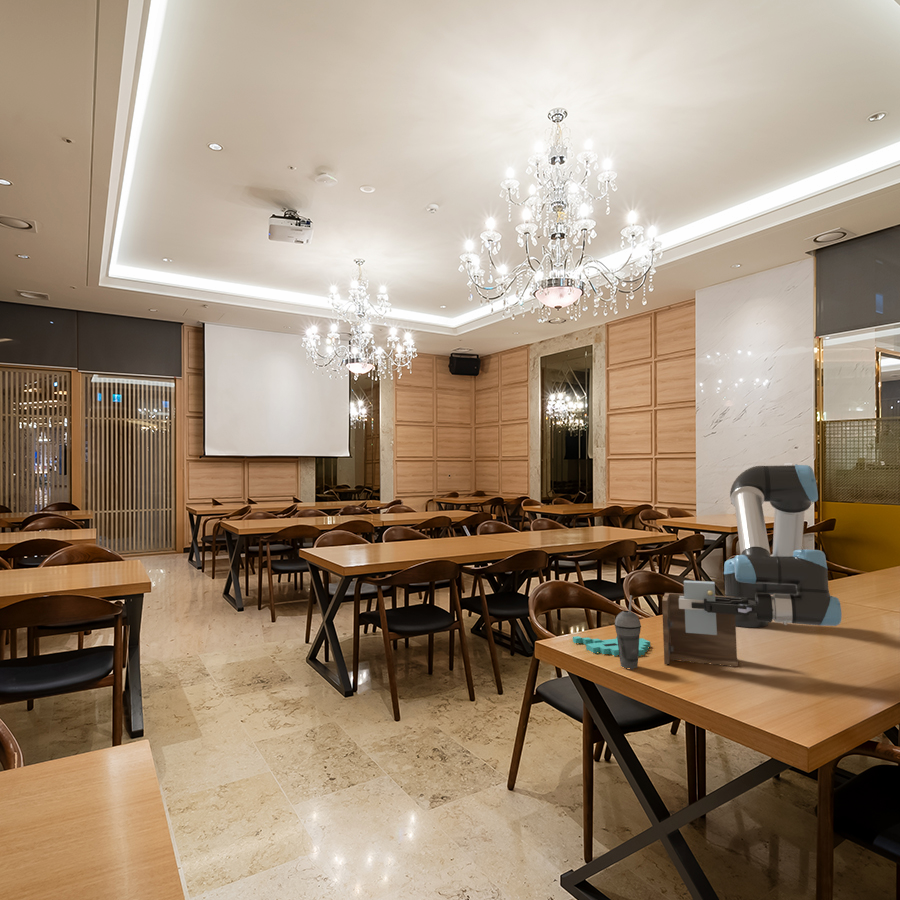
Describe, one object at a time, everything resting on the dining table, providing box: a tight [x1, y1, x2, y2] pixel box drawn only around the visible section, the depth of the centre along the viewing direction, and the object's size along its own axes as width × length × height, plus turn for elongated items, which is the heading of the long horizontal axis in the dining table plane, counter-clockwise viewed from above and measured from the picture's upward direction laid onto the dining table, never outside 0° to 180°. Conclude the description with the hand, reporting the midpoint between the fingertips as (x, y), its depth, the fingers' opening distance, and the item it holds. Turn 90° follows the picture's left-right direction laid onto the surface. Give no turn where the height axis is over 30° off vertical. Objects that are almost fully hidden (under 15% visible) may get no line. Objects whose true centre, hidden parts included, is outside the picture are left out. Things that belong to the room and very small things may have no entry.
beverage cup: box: [614, 595, 642, 670], centre depth 166 cm, size 7×7×20 cm
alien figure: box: [572, 636, 651, 657], centre depth 184 cm, size 20×2×20 cm
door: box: [683, 579, 717, 635], centre depth 165 cm, size 5×8×14 cm, turn 66°
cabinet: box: [661, 592, 739, 667], centre depth 169 cm, size 12×19×18 cm, turn 66°
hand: (679, 602), depth 168 cm, fingers closed on door, 3 cm apart
